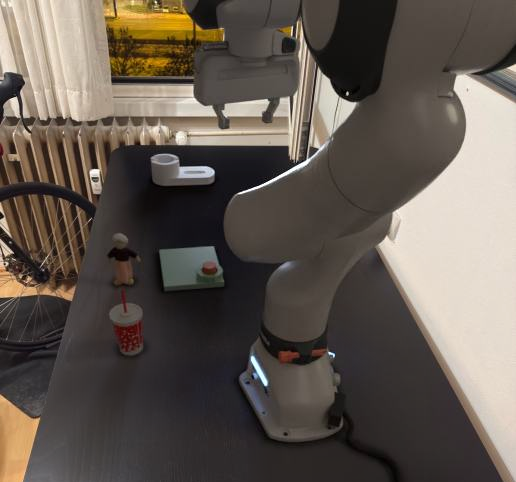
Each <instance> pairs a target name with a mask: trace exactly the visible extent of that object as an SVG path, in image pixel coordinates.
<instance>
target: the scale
mask: <svg viewBox="0 0 516 482" xmlns="http://www.w3.org/2000/svg"><path fill="white" fill-rule="evenodd" d="M158 254H159V261H160V268H161V276H162V283H163V291H164V292H174V291H175V292H176V291H185V290H186V291H187V290H188V291H189V290H196V289H197V290H199V289H210V288H224V287H225V280H224V269H223V267H222V266H221V265H220V263H219V259H218V256H217V253H216V249H215V246H212V245H211V246H196V247H184V248H183V247H182V248H181V247H180V248H165V249H158ZM208 261H211V262H214V263H216V273H215V274H211V275H208V274H204V273H203V263H205V262H208Z"/></svg>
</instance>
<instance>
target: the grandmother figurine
mask: <svg viewBox="0 0 516 482" xmlns="http://www.w3.org/2000/svg"><path fill="white" fill-rule="evenodd" d="M111 239H112V242H113V245H114V246H113V247H112V248H111V249H110V250H109V251H108V253H107V255H106V259H105V262H106V264H110V262H111V260H112V259H113V258H114V261H113V263H114V275H115V279H114V281H113V284H114V285H115V286H121V285H122V284H125V286H131V285H134V279H133V277H134V275H133V267H132V262H131V259H134V260H135V262H136V263H139V264H140V263H141V260H142V259H141V258H140V257H139V254H138V253H137V252H136V251H134V250H133V249H131V248H129V247H126V246H127V245H128V243H129V239H128V237H127V236H126V235H124V234H123V233H122V232H120V233H115V234H113V236H112V238H111Z"/></svg>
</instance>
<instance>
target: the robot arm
mask: <svg viewBox="0 0 516 482" xmlns="http://www.w3.org/2000/svg"><path fill="white" fill-rule="evenodd" d="M181 1H182V6H183V9H184V11H185V12H186V15H187V16H188V17H189V18H190V20H192V22H193V23H194V24H195V25H196V26H197V27H199V28H200V29H201V30H202V31H212V30H220V29H223V41H215V42H202V43H201V45H200V46H198V47H197V48H196V49H195V51H194V53H193V67H194V73H193V75H194V76H193V85H192V87H193V88H192V89H193V91H192V93H193V98H194V99H195V100H196V102H197V103H199V104H200V105H202V106H203V107H212V110H213V111H214V113H215V116H216V117H217V126H218V128H219V130H221V131H223V130H228V129H230V128H231V127H230V123H231V119H230V118H228V117H227V116H225V115H224V112H223V111H225V109H226V108H225V107H226V105H229V104H238V103H246V102H254V101H265V100H267V101H268V105H267V107H266V109H265V110H264V111H261V122H262V123H264V124H272V123H273V122H274V114H275V112H276V111H277V109H278V107H279V105H280V104H281V103H280V102H281V98H289V97H294V96H296V93H297V92H298V90H299V86H300V74H301V61H300V57H299V55H297V54H299V52H300V50H301V40H300V39H299V38H297V37H294V36H293V35H290V34H288V33H286V32H285V31H283V30H281V29H286V28H290V27H291V28H292V27H294V26H295V25H296V24H297V23H298V22H299V21H300V20H301V29H302V34H303V35H302V36H303V39H304V42H305V45H306V47H307V49H308V51H309V53H310V55H311V57H312V59H313V61H314V63H315V64H316V66H317V67H318V69H319V71H320V72H321V73H322V74H323V76H325V77H326V78H327V79H328V80H329V83H330V85H331V87H332V89H333V91H334V93H335V94H336V95H337V96H338V97H339V98H341V99H343V101H346V102H349V103H355V106H354V107H353V109H352V111H350V113H349V114H348V115H347V116H346V118H345V119H344V120H343V121H342V122H341V123H340V124H339V126H338V127H337V128H336V129H335V130H334V132H332V134H331V135H330V136H329V137H328V139H327V140H326V141H325V142H324V143H323V144H322V145H321V146H320V148H319V149H318V150H317V151H316V152H315V153H314V154H313V155H312V156H310V157H309V158H307V159H306V160H304V161H303V162H301V163H299V164H298V165H295V166H294V167H292V168H290V169H289V170H287V171H285V172H283V173H281V174H280V175H278V176H276V177H275V178H272V179H271V180H269V181H267V182H265V183H262V184H260V185H258V186H255V187H252V188H249V189H247V190H243V191H240V192H238V193H236V194H234V195H233V196H232V197H231V199H230V201H229V202H228V204H227V206H226V208H225V211H224V215H223V226H222V227H223V235H224V238H225V241H226V243H227V245H228V247H229V249H230V250H231V252H232V253H233V254H234V255H235V256H236V257H237V258H238V259H239V260H240V261H242V262H244V263H245V262H246V263H257V264H281V265H279V266H278V267H277V268H276V269H275V270H274V271H273V272H272V273H271V275H270V276H269V279H268V280H267V283H266V287H265V297H264V307H263V312H262V314H261V317H260V321H259V327H258V329H259V330H258V331H259V334H258V335H259V336H258V338H257V339H256V340H255V341H254V343H253V344H252V345H251V347H250V349H249V355H248V362H247V368H246V370H245V371H244V372H242V373H241V374H240V375H239V377H238V384H239V386H240V387H241V389H242V392H243V393H244V395H245V396H246V398H247V400H248V402H249V404H250V406H251V408H252V409H253V411H254V413H255V415H256V417H257V419H258V420H259V423H260V424H261V426H262V428H263V430H264V432H265V433H266V435H267V436H268V438H270V439H272V440H275V441H279V442H285V443H303V442H311V441H317V440H321V439H325V438H327V437H330V436H332V435H334V434H335V433H337V432H339V431H340V430H341V429H342V428H343V426H344V419H345V421H346V423H347V427H348V428H347V430H346V434H345V438H346V441H347V442H348V443H349V445H350V446H351V447H352V448H353V449H355V450H356V451H359V452H361V453H363V454H366V455H369V456H372V457H376V458H379V459H381V460H383V461H386V462H387V463H388V464H389V465H390V466H391V467H392V469H393V471H394V473H395V477H396V482H403V481H404V480H403V473H402V470H401V468H400V466H399V465H398V462H397V461H396V460H394V459H395V458H392V457H391V456H390V455H388V454H386V453H384V452H381V451H378V450H374V449H371V448H369V447H365V446H362V445H360V444H359V443H357V442H356V441H355V440H354V438H353V433H354V430H355V424H354V420H353V418H352V417H351V415H350V414H349V412H348V411H347V410H346V409H344V408H345V402H346V397H347V394H346V393H341V392H338V388H337V387H339V386H340V385H341V374H340V373H339V372H334V368H333V366H332V365H331V363H332V362H334V360H335V359H334V358H335V353H333V352H330V351H329V345H328V343H329V342H328V341H329V324H328V323H329V321H328V320H329V315H330V311H331V308H332V304H333V300H334V297H335V294H336V291H337V289H338V288H339V286H340V285H341V283H342V281H343V279H345V277H346V276H347V274H348V273H349V272H350V271H351V269H352V268H353V267H354V266H355V265H356V263H357V262H359V260H360V259H361V258H363V257H364V255H366V254H367V253H369V252H370V251H371V250H372V249H373V248H375V247H376V246H378V245H380V244H381V243H382V242H384V241H385V239H386V237H388V235H389V232H390V229H391V227H392V224H393V218H394V213H395V212H396V211H397V210H399V209H401V208H402V207H404V206H406V204H408V203H409V202H411V201H412V200H413V199H415V198H417V197H418V196H419V195H420V194H422V193H423V192H424V191H425V190H426V189H428V187H430V185H432V184H433V183H434V182H435V181H436V180H437V179H438V178H439V177H440V176H441V175H442V174H443V173H444V172H445V171H446V170H447V168H448V167H449V166H450V165H451V164H452V163H453V162H454V160H455V159H456V157H457V156H458V155H459V153H460V152H461V149H462V148H463V147H462V146H463V143H464V141H465V138H466V133H467V117H466V112H465V108H464V105H463V103H462V100H461V99H460V97H459V95H458V94H457V92H456V91H455V83H456V79H457V77H459V76H464V75H469V74H470V75H473V76H485V75H489V74H492V73H496V72H499V71H503V70H505V69H508V68H511V67H513V66H515V65H516V0H181ZM343 418H344V419H343Z"/></svg>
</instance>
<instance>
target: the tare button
mask: <svg viewBox="0 0 516 482" xmlns="http://www.w3.org/2000/svg"><path fill="white" fill-rule="evenodd" d="M203 273H204V274H208V275H211V274H215V273H216V263H214V262H211V261H208V262H205V263H203Z"/></svg>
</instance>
